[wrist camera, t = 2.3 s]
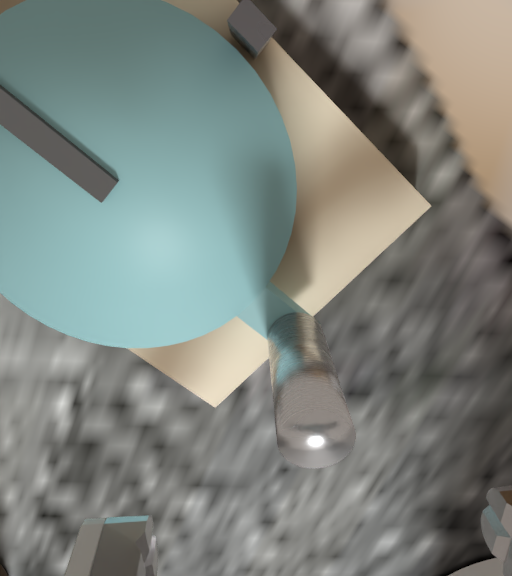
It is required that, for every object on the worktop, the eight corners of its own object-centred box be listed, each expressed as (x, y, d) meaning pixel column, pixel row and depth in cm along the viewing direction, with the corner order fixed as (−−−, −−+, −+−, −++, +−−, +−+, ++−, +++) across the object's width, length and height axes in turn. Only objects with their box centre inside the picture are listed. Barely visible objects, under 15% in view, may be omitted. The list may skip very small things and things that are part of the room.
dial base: (415, 195, 21) (475, 234, 15) (217, 384, 25) (210, 467, 20) (38, -200, 15) (-81, -366, 9) (-137, 137, 19) (-289, 158, 14)
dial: (414, 231, 19) (519, 322, 12) (220, 410, 23) (210, 561, 16) (84, -101, 14) (-84, -298, 7) (-93, 199, 18) (-320, 276, 11)
